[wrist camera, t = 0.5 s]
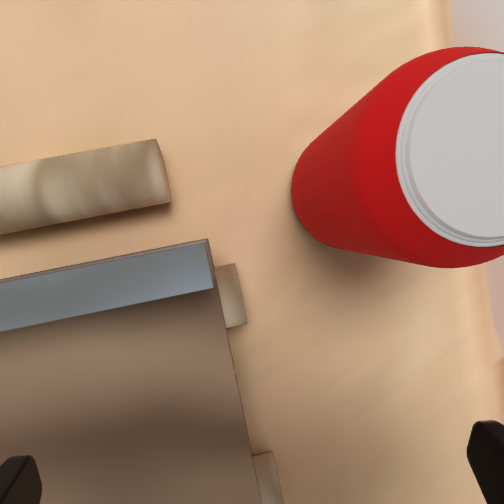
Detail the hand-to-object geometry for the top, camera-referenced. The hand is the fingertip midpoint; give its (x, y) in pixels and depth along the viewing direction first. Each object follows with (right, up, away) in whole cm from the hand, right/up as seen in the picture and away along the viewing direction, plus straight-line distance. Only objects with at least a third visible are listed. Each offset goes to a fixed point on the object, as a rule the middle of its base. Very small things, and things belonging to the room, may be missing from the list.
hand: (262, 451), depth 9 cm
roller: (-9, +7, +12) cm, 17 cm away
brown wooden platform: (-6, -4, +13) cm, 15 cm away
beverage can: (+5, +7, +14) cm, 16 cm away
